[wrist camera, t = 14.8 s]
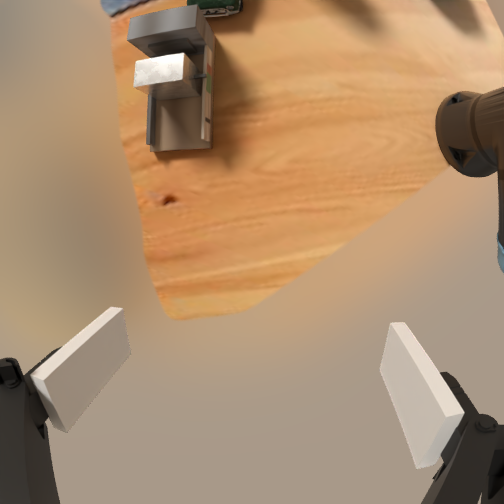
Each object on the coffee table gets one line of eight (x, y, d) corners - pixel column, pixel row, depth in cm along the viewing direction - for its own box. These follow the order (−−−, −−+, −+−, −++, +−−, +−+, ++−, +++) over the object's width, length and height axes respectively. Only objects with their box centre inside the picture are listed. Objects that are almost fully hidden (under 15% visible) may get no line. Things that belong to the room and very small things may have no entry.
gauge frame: (216, 36, 40) (197, 4, 29) (212, 148, 45) (190, 140, 34) (159, 44, 42) (130, 18, 30) (153, 152, 46) (118, 147, 35)
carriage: (213, 72, 41) (197, 51, 32) (212, 95, 42) (195, 78, 33) (160, 78, 41) (135, 61, 33) (159, 100, 42) (133, 87, 34)
